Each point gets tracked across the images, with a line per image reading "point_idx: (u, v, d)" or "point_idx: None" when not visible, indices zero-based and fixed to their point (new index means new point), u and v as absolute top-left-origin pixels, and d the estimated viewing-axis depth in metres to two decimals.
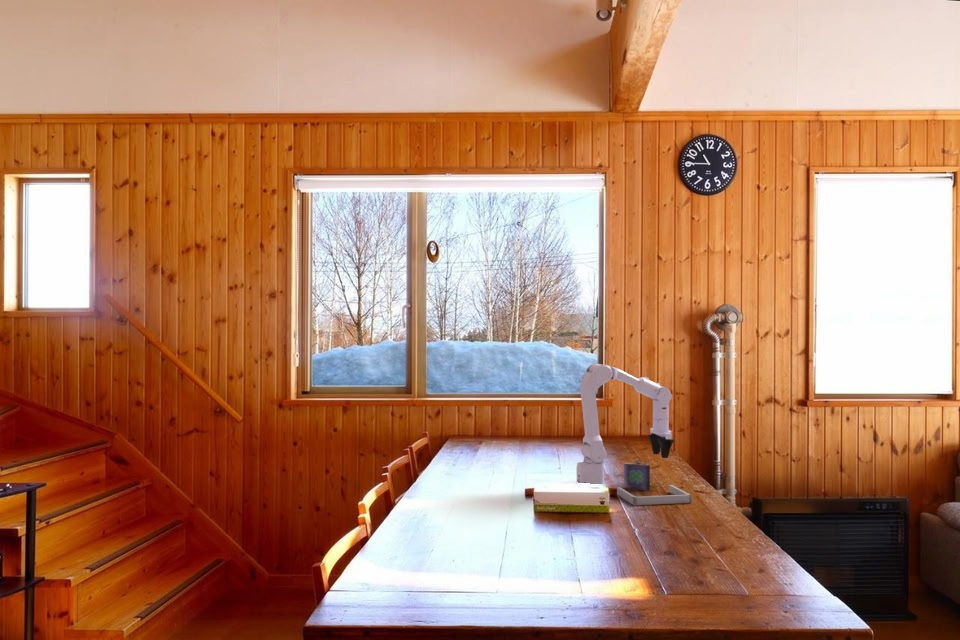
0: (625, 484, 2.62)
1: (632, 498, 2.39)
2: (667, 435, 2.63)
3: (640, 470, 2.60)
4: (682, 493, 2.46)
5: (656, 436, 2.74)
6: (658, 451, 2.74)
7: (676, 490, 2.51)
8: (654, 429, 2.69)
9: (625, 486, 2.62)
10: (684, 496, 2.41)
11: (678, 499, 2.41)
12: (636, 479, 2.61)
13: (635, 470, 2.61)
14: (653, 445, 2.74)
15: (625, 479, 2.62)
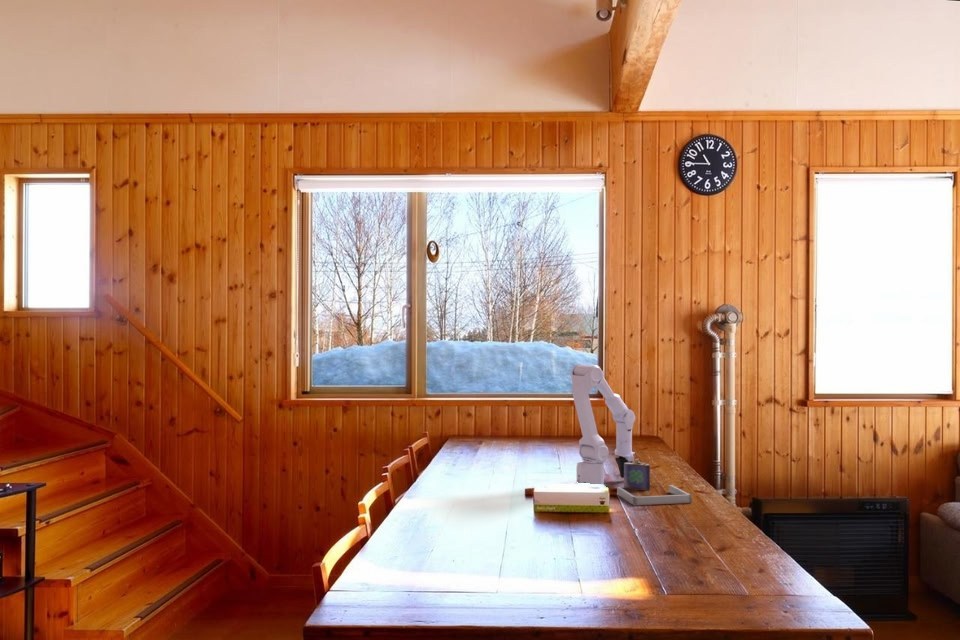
0: (625, 484, 2.62)
1: (632, 498, 2.39)
2: (629, 457, 2.67)
3: (640, 470, 2.60)
4: (682, 493, 2.46)
5: None
6: None
7: (676, 490, 2.51)
8: (617, 451, 2.73)
9: (625, 486, 2.62)
10: (684, 496, 2.41)
11: (678, 499, 2.41)
12: (636, 479, 2.61)
13: (635, 470, 2.61)
14: None
15: (625, 479, 2.62)
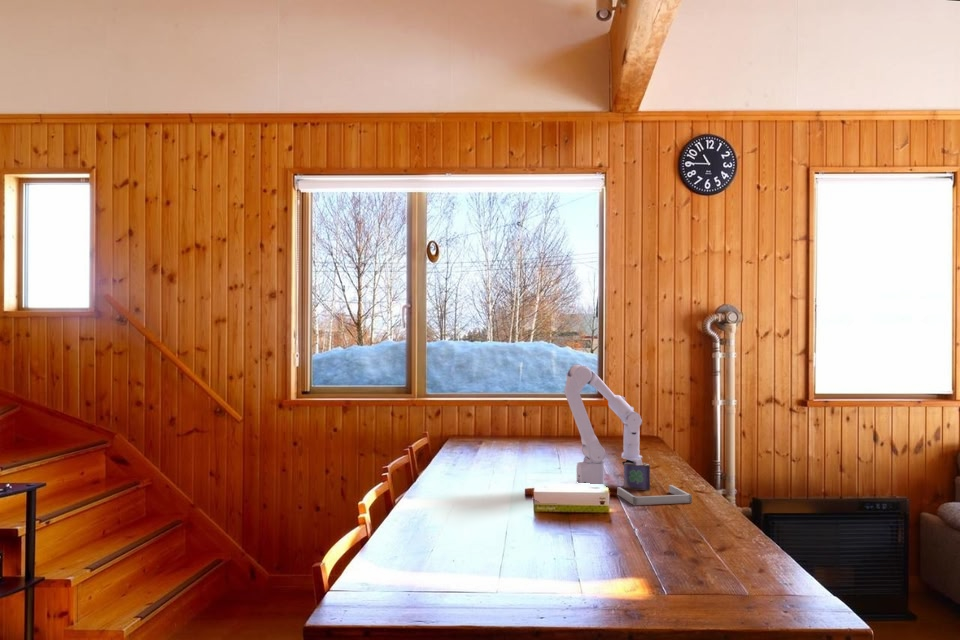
0: (625, 484, 2.62)
1: (632, 498, 2.39)
2: (637, 461, 2.59)
3: (640, 470, 2.60)
4: (682, 493, 2.46)
5: None
6: None
7: (676, 490, 2.51)
8: (625, 454, 2.66)
9: (625, 486, 2.62)
10: (684, 496, 2.41)
11: (678, 499, 2.41)
12: (636, 479, 2.61)
13: (635, 470, 2.61)
14: None
15: (625, 479, 2.62)
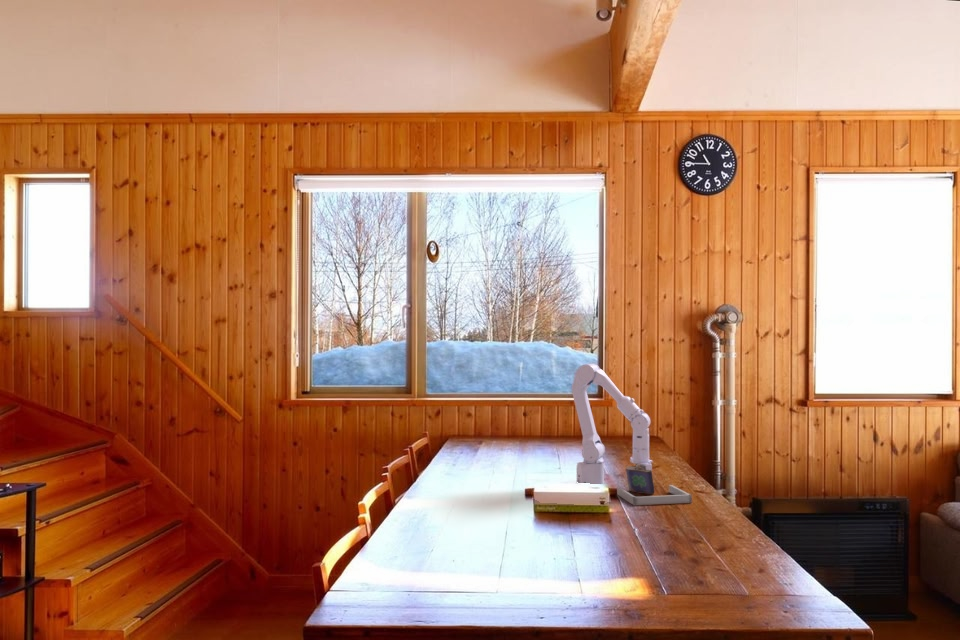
0: (629, 487, 2.57)
1: (632, 498, 2.39)
2: (647, 466, 2.51)
3: (642, 475, 2.52)
4: (682, 493, 2.46)
5: None
6: None
7: (676, 490, 2.51)
8: (634, 459, 2.57)
9: (630, 489, 2.57)
10: (684, 496, 2.41)
11: (678, 499, 2.41)
12: (640, 483, 2.54)
13: (637, 475, 2.53)
14: None
15: (629, 483, 2.56)
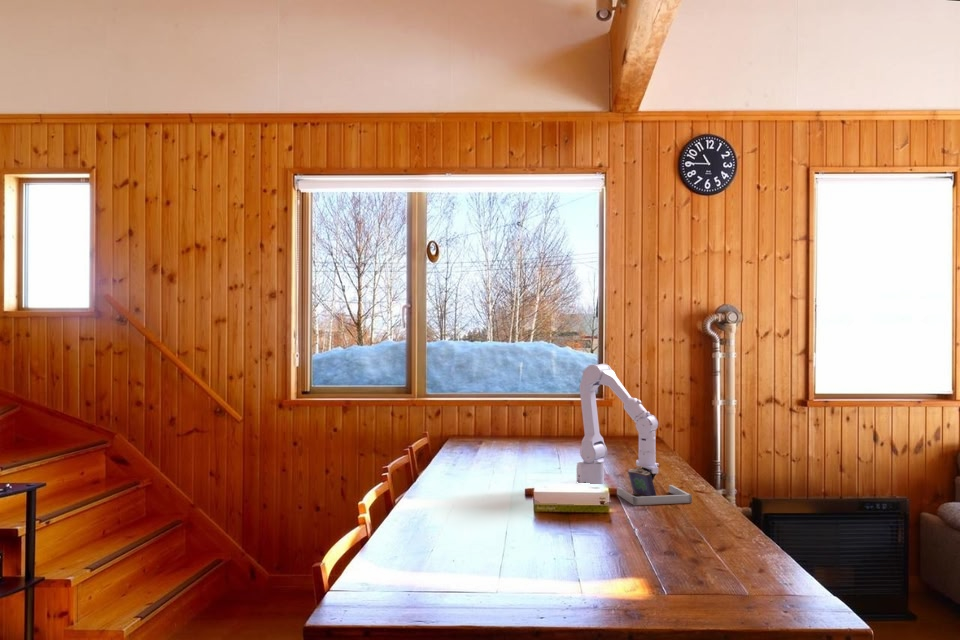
0: (633, 490, 2.52)
1: (632, 498, 2.39)
2: (654, 469, 2.46)
3: (642, 479, 2.47)
4: (682, 493, 2.46)
5: None
6: None
7: (676, 490, 2.51)
8: (640, 462, 2.52)
9: (633, 492, 2.52)
10: (684, 496, 2.41)
11: (678, 499, 2.41)
12: (641, 487, 2.49)
13: (638, 478, 2.49)
14: None
15: (632, 486, 2.52)
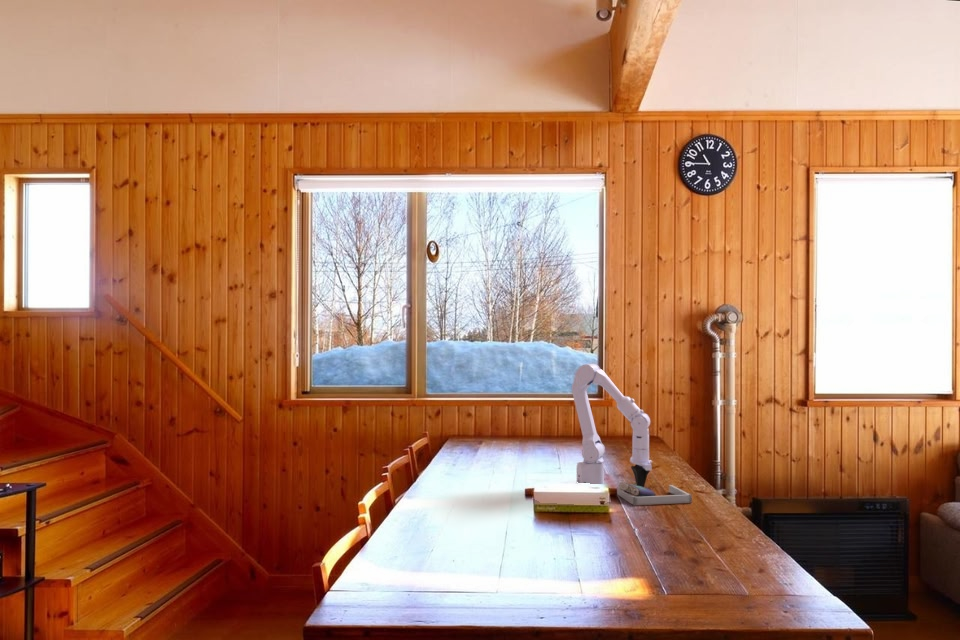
0: None
1: (632, 498, 2.39)
2: (647, 466, 2.51)
3: None
4: (682, 493, 2.46)
5: None
6: None
7: (676, 490, 2.51)
8: (634, 459, 2.57)
9: None
10: (684, 496, 2.41)
11: (678, 499, 2.41)
12: None
13: None
14: None
15: None
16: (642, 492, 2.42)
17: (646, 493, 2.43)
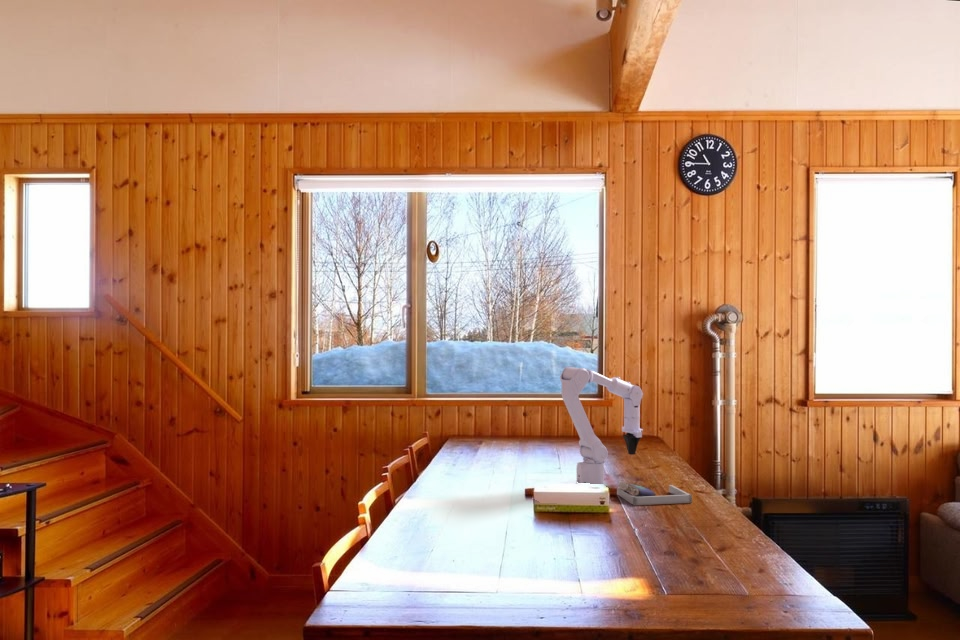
0: None
1: (632, 498, 2.39)
2: (637, 433, 2.64)
3: None
4: (682, 493, 2.46)
5: None
6: None
7: (676, 490, 2.51)
8: (625, 427, 2.71)
9: None
10: (684, 496, 2.41)
11: (678, 499, 2.41)
12: None
13: None
14: None
15: None
16: (642, 492, 2.42)
17: (646, 493, 2.43)
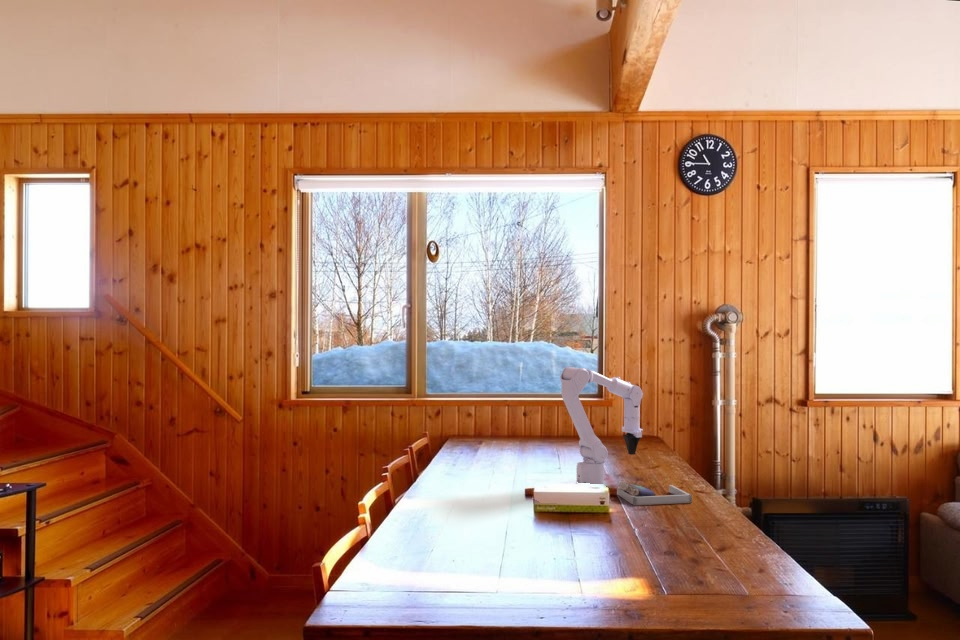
0: None
1: (632, 498, 2.39)
2: (637, 433, 2.64)
3: None
4: (682, 493, 2.46)
5: None
6: None
7: (676, 490, 2.51)
8: (625, 427, 2.71)
9: None
10: (684, 496, 2.41)
11: (678, 499, 2.41)
12: None
13: None
14: None
15: None
16: (642, 492, 2.42)
17: (646, 493, 2.43)
